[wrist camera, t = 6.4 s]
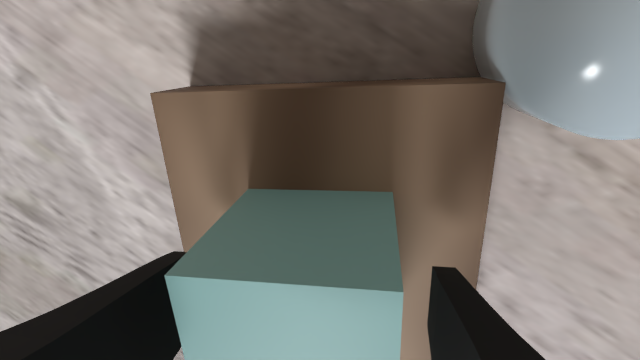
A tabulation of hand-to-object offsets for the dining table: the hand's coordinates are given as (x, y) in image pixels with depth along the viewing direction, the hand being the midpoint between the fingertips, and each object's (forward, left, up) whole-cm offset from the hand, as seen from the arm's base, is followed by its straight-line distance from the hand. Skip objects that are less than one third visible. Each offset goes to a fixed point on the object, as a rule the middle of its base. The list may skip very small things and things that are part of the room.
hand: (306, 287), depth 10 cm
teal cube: (0, 0, -2) cm, 2 cm away
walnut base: (0, 0, -5) cm, 5 cm away
